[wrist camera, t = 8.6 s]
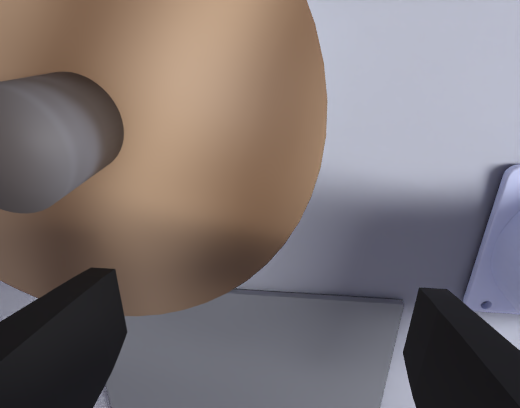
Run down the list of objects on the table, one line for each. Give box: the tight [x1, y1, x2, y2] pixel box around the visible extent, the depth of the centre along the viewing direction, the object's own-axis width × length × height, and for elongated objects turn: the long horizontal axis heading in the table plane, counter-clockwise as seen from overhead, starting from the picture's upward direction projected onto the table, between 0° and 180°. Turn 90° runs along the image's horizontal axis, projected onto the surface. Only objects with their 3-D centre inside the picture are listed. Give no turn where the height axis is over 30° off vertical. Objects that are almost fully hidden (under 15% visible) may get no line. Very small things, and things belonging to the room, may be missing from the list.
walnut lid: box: [0, 0, 327, 316], centre depth 10 cm, size 15×15×4 cm
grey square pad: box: [106, 289, 404, 408], centre depth 24 cm, size 18×18×1 cm
